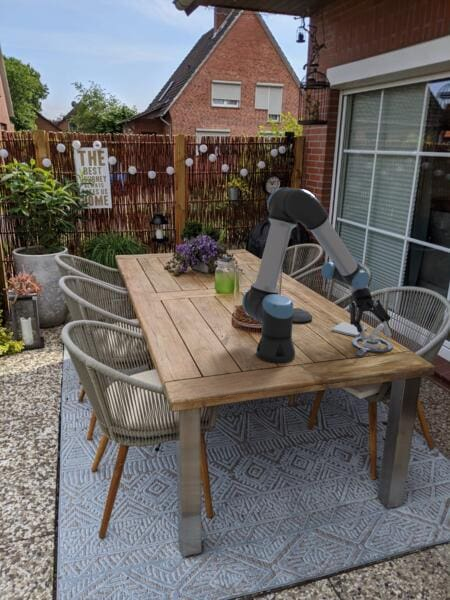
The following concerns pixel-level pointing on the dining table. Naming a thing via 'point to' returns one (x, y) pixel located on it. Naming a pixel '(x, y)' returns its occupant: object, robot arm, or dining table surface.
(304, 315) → the flying saucer
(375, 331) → the hook
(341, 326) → the tile
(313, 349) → the dining table surface
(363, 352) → the eye ring
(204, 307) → the dining table surface
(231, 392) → the dining table surface
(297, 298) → the dining table surface
